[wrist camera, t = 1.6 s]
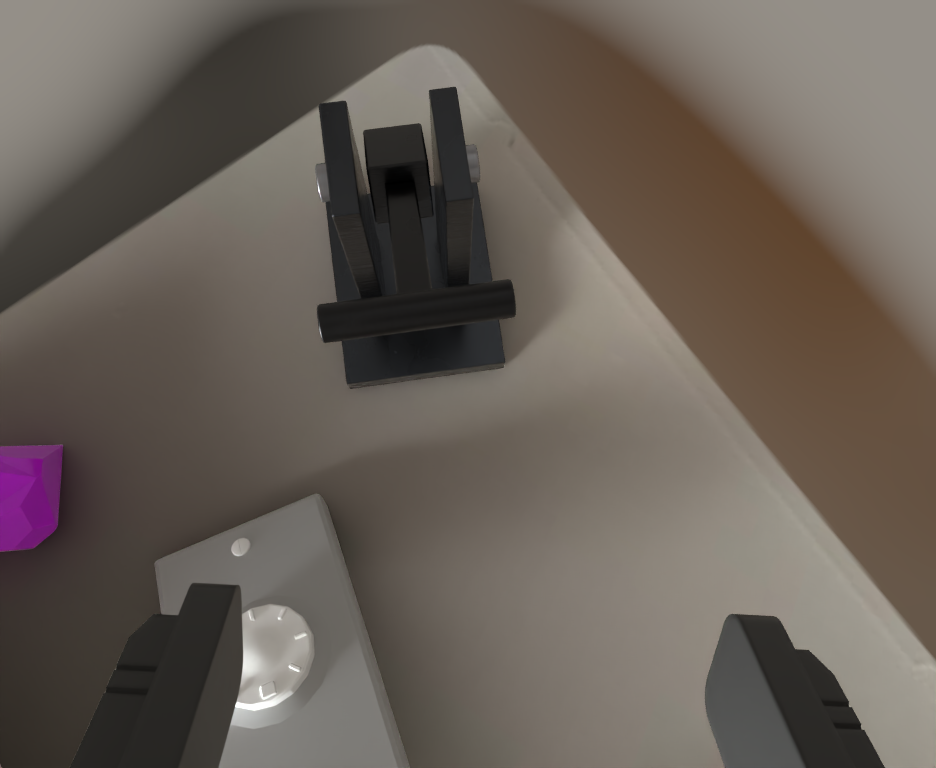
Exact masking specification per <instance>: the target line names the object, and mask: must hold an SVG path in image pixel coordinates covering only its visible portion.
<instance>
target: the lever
mask: <svg viewBox="0 0 936 768" xmlns="http://www.w3.org/2000/svg"><path fill="white" fill-rule="evenodd" d="M363 135H364V146H365V158H366V170H367V175H368V181H369V187H370V193H371V199H372V205H373V211H374V217H375V222H376V223H377V224H379V223H387V222H389V229H390V238H391V246H392V255H393V264H394V273H395V282H396V291H397V294H394V295H386V296H379V297H371V298H364V299H356V300H349V301H341V302H334V303H326V304H319V305H318V307H317V318H318V326H319V331H320V336H321V339H322V341H323V343H330V342H337V341H345V340H352V339H359V338H367V337H374V336H382V335H389V334H397V333H404V332H411V331H419V330H426V329H434V328H441V327H448V326H456V325H463V324H471V323H478V322H485V321H493V320H500V319H508V318H514V317H515V315H516V304H515V295H514V289H513V285H512V282H511V280H509V279H507V280H499V281H492V282H484V283H477V284H469V285H462V286H454V287H447V288H439V289H432V286H431V279H430V273H429V267H428V260H427V254H426V248H425V242H424V235H423V229H422V223H421V218H426V217H432V216H433V215H434V211H433V202H432V193H431V184H430V175H429V166H428V159H427V153H426V148H425V143H424V137H423V132H422V126H421V124H419V123H418V124H410V125H402V126H394V127H386V128H377V129H369V130H364V132H363Z"/></svg>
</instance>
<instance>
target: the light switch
mask: <svg viewBox="0 0 936 768" xmlns="http://www.w3.org/2000/svg"><path fill="white" fill-rule="evenodd" d="M155 572H156V579H157V586H158V593H159V600H160V607H161V614H165V615H178V614H179V612H180V609H181V606H182V604H183V601H184V599H185V596H186V594H187V591H188V589H189V587H190V585H191V584H192V583H211V584H229V585H239V586H240V588H241V598H242V631H243V668H242V677H241V684H240V689H239V694H238V698H237V702H236V706H235V709H234V713H233V717H232V720H231V724H230V728H229V731H228V735H227V739H226V742H225V746H224V750H223V753H222V757H221V761H220V764H219V768H410V766H409V763H408V759H407V756H406V753H405V750H404V747H403V744H402V741H401V737H400V734H399V731H398V728H397V725H396V722H395V718H394V715H393V712H392V709H391V706H390V703H389V699H388V696H387V693H386V690H385V687H384V684H383V680H382V677H381V674H380V671H379V668H378V665H377V662H376V658H375V655H374V652H373V649H372V646H371V643H370V639H369V636H368V633H367V630H366V627H365V624H364V620H363V617H362V614H361V611H360V608H359V605H358V601H357V598H356V595H355V592H354V589H353V586H352V582H351V579H350V576H349V573H348V570H347V567H346V564H345V560H344V557H343V554H342V551H341V548H340V545H339V541H338V538H337V535H336V532H335V529H334V526H333V522H332V519H331V516H330V513H329V510H328V507H327V504H326V503H325V501H324V499H323V498H322V496H320V495H319V494H313V495H311V496H308V497H306V498H303V499H301V500H299V501H296V502H294V503H292V504H289V505H287V506H284V507H282V508H280V509H277V510H275V511H272V512H270V513H268V514H265V515H263V516H261V517H258V518H256V519H253V520H251V521H249V522H246V523H244V524H241V525H239V526H237V527H234V528H232V529H229V530H227V531H225V532H222V533H220V534H218V535H215V536H213V537H210V538H208V539H206V540H203V541H201V542H198V543H196V544H194V545H191V546H189V547H187V548H184V549H182V550H179V551H177V552H175V553H172V554H170V555H167V556H165V557H163V558H160V559H158V560H157V561H156V562H155ZM305 619H306V620H305ZM306 621H307V622H306Z"/></svg>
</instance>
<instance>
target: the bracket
mask: <svg viewBox="0 0 936 768" xmlns="http://www.w3.org/2000/svg"><path fill="white" fill-rule="evenodd" d="M429 99H430V118H431V136H432V155H433V174H434V186H431V193H432V202H433V211H434V215H433V216H432V217H426V218H421V223H422V229H423V235H424V242H425V248H426V254H427V260H428V267H429V273H430V279H431V286H432V289H439V288H447V287H454V286H462V285H469V284H477V283H484V282H492V274H491V268H490V262H489V255H488V249H487V243H486V237H485V230H484V224H483V218H482V211H481V205H480V199H479V192H478V186H477V183H478V182H479V181H480V167H479V159H478V152H477V148H476V145H474V144H473V145H465V139H464V133H463V126H462V120H461V114H460V107H459V101H458V95H457V88H456V87H450V88H442V89H433V90H429ZM319 112H320V121H321V129H322V137H323V146H324V154H325V163H321V164H316V167H315V170H316V180H317V186H318V191H319V196H320V199H321V201H322V202H326V210H327V219H328V227H329V236H330V245H331V253H332V262H333V270H334V279H335V287H336V296H337V302H341V301H349V300H356V299H364V298H371V297H379V296H386V295H394V294H397V291H396V282H395V273H394V264H393V255H392V246H391V238H390V229H389V222H387V223H379V224H377V223H376V222H375V217H374V211H373V205H372V199H371V194H368V193H367V189H366V185H365V180H364V176H363V172H362V167H361V163H360V159H359V154H358V150H357V146H356V141H355V137H354V133H353V129H352V124H351V120H350V116H349V111H348V107H347V103H346V101H338V102H329V103H321V104H319ZM342 347H343V356H344V364H345V373H346V381H347V385H348V386H349V388H350V389H353V388H360V387H367V386H374V385H382V384H389V383H396V382H403V381H411V380H418V379H425V378H433V377H440V376H447V375H454V374H462V373H469V372H476V371H483V370H491V369H498V368H504V365H505V356H504V350H503V344H502V337H501V331H500V325H499V320H493V321H485V322H478V323H471V324H463V325H456V326H448V327H441V328H434V329H426V330H419V331H411V332H404V333H397V334H389V335H382V336H374V337H367V338H359V339H352V340H345V341H342Z"/></svg>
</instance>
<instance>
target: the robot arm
mask: <svg viewBox="0 0 936 768" xmlns="http://www.w3.org/2000/svg"><path fill="white" fill-rule="evenodd" d="M242 668H243V631H242V598H241V588H240V586H239V585H229V584H211V583H192V584H191V585H190V587H189V589H188V591H187V594H186V596H185V599H184V601H183V604H182V606H181V609H180V612H179V614H178V615H165V614H153V615H152V616H151V617H150V618H149V619H148V620H147V621H146V622H145V623H143V624H142V625H141V626H140V627H139V628H138V629H137V630H136V631H135V632H134V633H133V634H132V635H131V636H130V637H129V639H128V641H127V643H126V645H125V647H124V650H123V652H122V654H121V656H120V658H119V661H118V663H117V667H116V670H114V672H113V674H112V676H111V678H110V680H109V683H108V685H107V687H106V693H104V694H103V696H102V698H101V700H100V702H99V705H98V707H97V709H96V711H95V713H94V716H93V718H92V720H91V722H90V724H89V727H88V729H87V731H86V733H85V735H84V738H83V740H82V742H81V744H80V746H79V749H78V751H77V753H76V755H75V757H74V760H73V762H72V764H71V766H70V768H219V764H220V761H221V757H222V753H223V750H224V746H225V742H226V739H227V735H228V731H229V728H230V724H231V720H232V717H233V713H234V709H235V706H236V702H237V698H238V694H239V689H240V684H241V677H242ZM705 705H706V712H707V717H708V720H709V723H710V726H711V729H712V732H713V735H714V737H715V740H716V743H717V746H718V749H719V752H720V755H721V757H722V760H723V763H724V766H725V768H885V767H884V765H883V763H882V761H881V760H880V758H879V756H878V754H877V752H876V750H875V749H874V747H873V745H872V743H871V741H870V740H869V738H868V736H867V734H866V732H865V730H862V729H861V723H860V721H859V719H858V718H857V716H856V714H855V712H854V710H853V708H852V707H849V701H848V699H847V698H846V696H845V694H844V692H843V690H842V688H841V687H840V685H839V683H838V681H837V679H836V677H835V676H834V674H833V673H832V672H831V671H830V670H829V669H828V668H827V667H826V666H825V665H824V664H823V663H821V662H820V661H819V660H818V659H817V658H816V657H815V656H814V655H813V654H812V653H811V652H810V651H809V650H797V649H795V648H794V646H793V644H792V642H791V640H790V638H789V636H788V634H787V632H786V630H785V628H784V626H783V625H782V623H781V621H780V620H779V619H778V618H777V617H774V616H760V615H742V614H730V615H728V617H727V618H726V620H725V622H724V625H723V628H722V631H721V635H720V638H719V641H718V644H717V648H716V651H715V654H714V657H713V661H712V664H711V667H710V670H709V674H708V677H707V681H706V687H705Z"/></svg>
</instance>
